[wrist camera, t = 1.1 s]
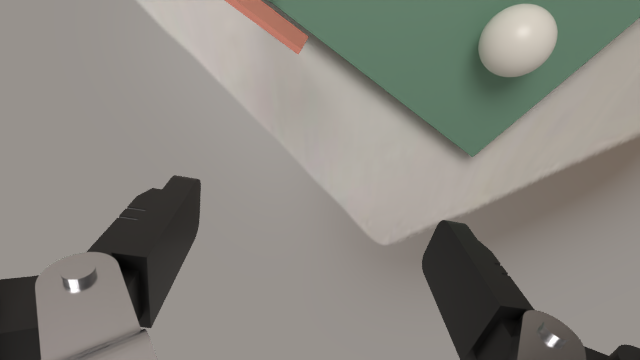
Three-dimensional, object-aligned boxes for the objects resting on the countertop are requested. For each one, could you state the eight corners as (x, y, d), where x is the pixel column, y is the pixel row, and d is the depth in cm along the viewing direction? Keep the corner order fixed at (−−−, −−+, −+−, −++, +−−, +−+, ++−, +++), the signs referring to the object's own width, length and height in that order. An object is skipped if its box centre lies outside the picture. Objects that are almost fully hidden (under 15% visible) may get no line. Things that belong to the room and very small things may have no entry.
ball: (509, -16, 24) (541, -10, 20) (551, 27, 25) (589, 41, 21) (456, 42, 27) (475, 58, 22) (497, 78, 28) (521, 99, 24)
